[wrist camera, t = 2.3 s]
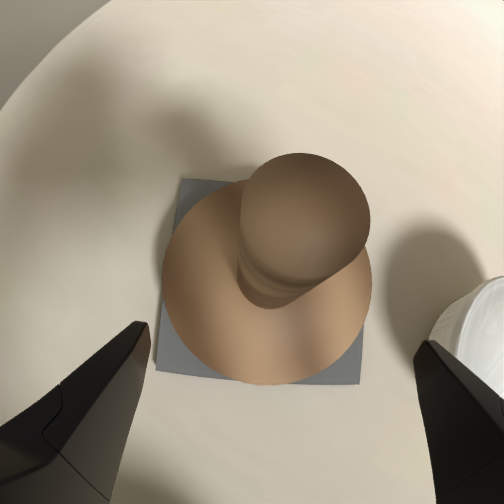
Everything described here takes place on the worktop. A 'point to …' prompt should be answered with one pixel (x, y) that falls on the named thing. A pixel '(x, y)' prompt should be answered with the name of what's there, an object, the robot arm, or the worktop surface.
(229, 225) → the walnut lid
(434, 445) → the robot arm
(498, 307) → the ramekin
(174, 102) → the worktop surface
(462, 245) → the worktop surface
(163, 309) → the rubber mat
